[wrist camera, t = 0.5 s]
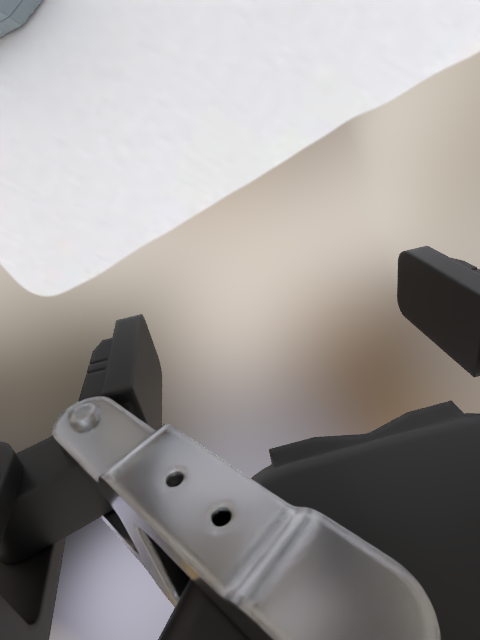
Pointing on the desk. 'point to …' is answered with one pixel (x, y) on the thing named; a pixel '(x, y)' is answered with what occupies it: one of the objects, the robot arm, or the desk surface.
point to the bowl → (15, 13)
